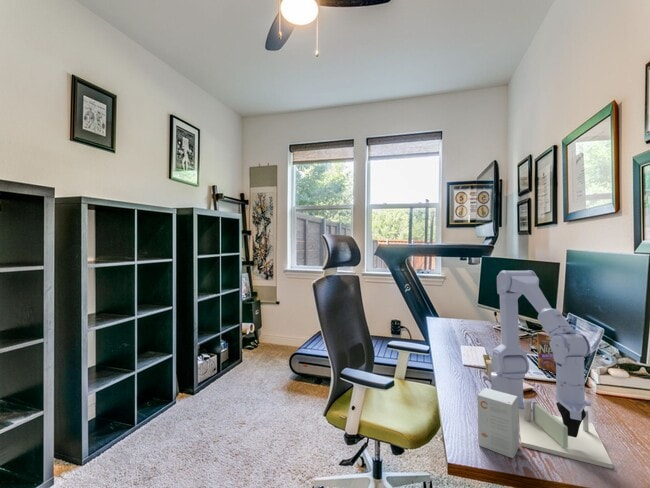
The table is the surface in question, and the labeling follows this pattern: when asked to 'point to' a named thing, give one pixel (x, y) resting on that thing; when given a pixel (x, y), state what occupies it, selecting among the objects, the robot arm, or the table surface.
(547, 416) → the gate
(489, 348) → the table surface
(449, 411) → the table surface
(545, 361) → the candy box
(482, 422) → the small box
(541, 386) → the table surface
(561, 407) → the robot arm
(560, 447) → the gate frame
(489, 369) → the model
